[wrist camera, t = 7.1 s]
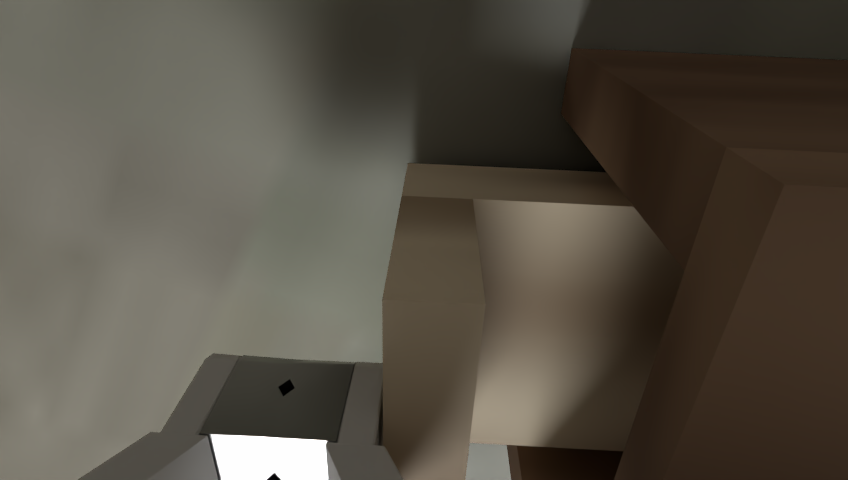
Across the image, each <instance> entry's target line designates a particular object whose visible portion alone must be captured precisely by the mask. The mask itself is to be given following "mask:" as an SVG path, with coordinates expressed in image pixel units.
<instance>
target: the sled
mask: <svg viewBox="0 0 848 480" xmlns="http://www.w3.org/2000/svg"><path fill="white" fill-rule="evenodd" d="M683 274H684V270H683V269H682V267H681V266H680V265H679V264H678V262H677V261H676V260H675V258H674V257H673V256H672V255H671V253H670V252H669V251H668V250H667V248H666V247H665V246H664V244H663V243H662V242H661V241H660V239H659V238H658V237H657V236H656V234H655V233H654V232H653V230H652V229H651V228H650V227H649V225H648V224H647V223H646V222H645V220H644V219H643V218H642V216H641V215H640V214H639V213H638V211H637V210H636V209H635V208H634V206H633V205H632V204H631V202H630V201H629V200H628V199H627V197H626V196H625V195H624V194H623V192H622V191H621V190H620V188H619V187H618V186H617V185H616V183H615V182H614V181H613V180H612V178H611V177H610V176H609V174H608V173H607V172H589V171H567V170H546V169H525V168H504V167H482V166H461V165H440V164H418V163H408V166H407V171H406V176H405V182H404V187H403V192H402V198H401V203H400V208H399V214H398V219H397V224H396V230H395V235H394V240H393V246H392V251H391V256H390V262H389V267H388V272H387V278H386V283H385V288H384V293H383V299H382V314H383V446H385V448H386V449H387V451H388V453H389V455H390V456H391V458H392V460H393V462H394V464H395V465H396V467H397V469H398V471H399V472H400V474H401V476H402V478H403V479H404V480H465V476H466V468H467V459H468V451H469V443H482V444H500V445H518V446H537V447H555V448H573V449H591V450H609V451H624V449H625V446H626V443H627V440H628V437H629V434H630V431H631V428H632V425H633V422H634V419H635V416H636V413H637V410H638V407H639V404H640V401H641V398H642V395H643V392H644V389H645V386H646V384H647V381H648V378H649V375H650V372H651V369H652V366H653V363H654V360H655V357H656V354H657V351H658V348H659V345H660V342H661V339H662V336H663V333H664V330H665V327H666V324H667V321H668V319H669V316H670V313H671V310H672V307H673V304H674V301H675V298H676V295H677V292H678V289H679V286H680V283H681V280H682V277H683Z"/></svg>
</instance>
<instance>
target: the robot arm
mask: <svg viewBox="0 0 848 480" xmlns="http://www.w3.org/2000/svg"><path fill="white" fill-rule="evenodd" d="M78 480H404V479H403V478H402V476H401V474H400V472H399V471H398V469H397V467H396V465H395V464H394V462H393V460H392V458H391V456H390V455H389V453H388V451H387V449H386V448H385V446H383V363H368V362H339V361H318V360H296V359H283V358H271V357H259V356H246V355H243V356H237V355H226V354H215V353H213V354H212V355H210V356H209V357H208V358H206V359H205V361H204V362H203V364H202V365H201V367H200V369H199V370H198V372H197V374H196V375H195V377H194V378H193V380H192V382H191V383H190V385H189V387H188V388H187V390H186V392H185V393H184V395H183V396H182V398H181V400H180V401H179V403H178V405H177V406H176V408H175V409H174V411H173V413H172V414H171V416H170V418H169V419H168V421H167V422H166V424H165V426H164V427H163V429H162V431H161V432H160V433H158V432H150V433H149V434H147V435H145V436H144V437H142V438H141V439H139V440H138V441H136V442H135V443H133V444H132V445H130V446H129V447H127V448H126V449H124V450H122V451H121V452H119V453H118V454H116V455H115V456H113V457H112V458H110V459H109V460H107V461H106V462H104V463H103V464H101V465H99V466H98V467H96V468H95V469H93V470H92V471H90V472H89V473H87V474H86V475H84V476H83V477H81V478H79V479H78Z"/></svg>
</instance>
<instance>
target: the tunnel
mask: <svg viewBox="0 0 848 480" xmlns="http://www.w3.org/2000/svg"><path fill="white" fill-rule="evenodd" d="M561 115H562V116H563V117H564V119H565V120H566V121H567V122H568V124H569V125H570V126H571V127H572V129H573V130H574V131H575V133H576V134H577V135H578V136H579V138H580V139H581V140H582V141H583V143H584V144H585V145H586V147H587V148H588V149H589V150H590V152H591V153H592V154H593V155H594V157H595V158H596V159H597V161H598V162H599V163H600V164H601V166H602V167H603V168H604V169H605V171H606V172H607V173H608V174H609V176H610V177H611V178H612V180H613V181H614V182H615V183H616V185H617V186H618V187H619V188H620V190H621V191H622V192H623V194H624V195H625V196H626V197H627V199H628V200H629V201H630V202H631V204H632V205H633V206H634V208H635V209H636V210H637V211H638V213H639V214H640V215H641V216H642V218H643V219H644V220H645V222H646V223H647V224H648V225H649V227H650V228H651V229H652V230H653V232H654V233H655V234H656V236H657V237H658V238H659V239H660V241H661V242H662V243H663V244H664V246H665V247H666V248H667V250H668V251H669V252H670V253H671V255H672V256H673V257H674V258H675V260H676V261H677V262H678V264H679V265H680V266H681V267H682V269H683V270H684V274H683V277H682V280H681V283H680V286H679V289H678V292H677V295H676V298H675V301H674V304H673V307H672V310H671V313H670V316H669V319H668V321H667V324H666V327H665V330H664V333H663V336H662V339H661V342H660V345H659V348H658V351H657V354H656V357H655V360H654V363H653V366H652V369H651V372H650V375H649V378H648V381H647V384H646V386H645V389H644V392H643V395H642V398H641V401H640V404H639V407H638V410H637V413H636V416H635V419H634V422H633V425H632V428H631V431H630V434H629V437H628V440H627V443H626V446H625V449H624V451H609V450H591V449H573V448H555V447H537V446H518V445H507V449H508V457H509V465H510V473H511V480H848V60H835V59H812V58H788V57H765V56H742V55H719V54H696V53H673V52H650V51H627V50H604V49H581V48H572V50H571V56H570V62H569V68H568V74H567V80H566V86H565V92H564V98H563V104H562V110H561Z"/></svg>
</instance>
